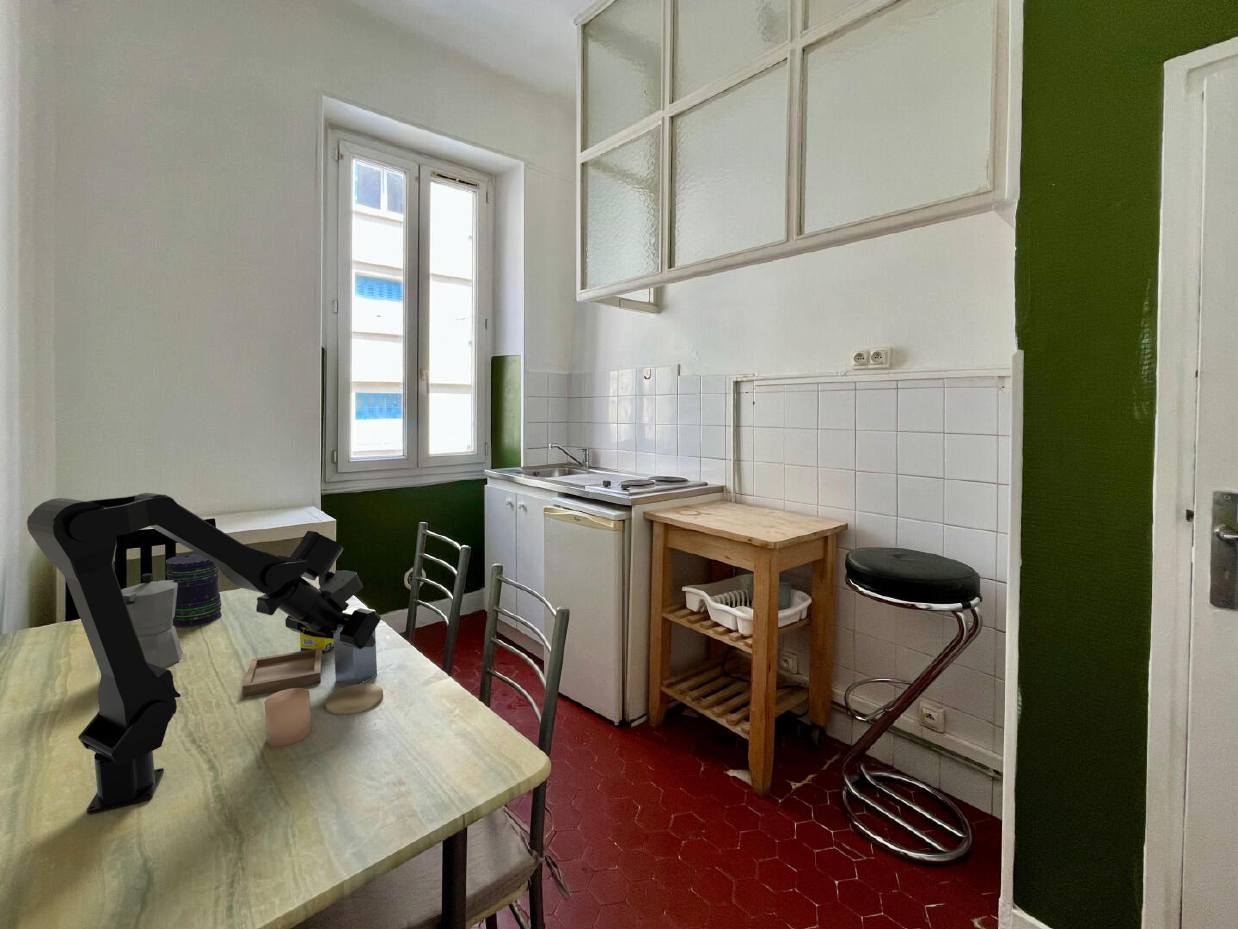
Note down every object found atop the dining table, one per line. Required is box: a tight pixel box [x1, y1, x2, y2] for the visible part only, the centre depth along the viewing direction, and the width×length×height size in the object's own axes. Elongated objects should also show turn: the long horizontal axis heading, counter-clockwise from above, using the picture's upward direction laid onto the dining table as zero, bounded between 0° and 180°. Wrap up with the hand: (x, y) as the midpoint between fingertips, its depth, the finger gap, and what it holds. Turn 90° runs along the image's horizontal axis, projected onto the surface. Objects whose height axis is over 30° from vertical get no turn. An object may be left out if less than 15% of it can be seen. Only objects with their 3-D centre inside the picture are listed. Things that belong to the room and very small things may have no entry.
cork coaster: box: [325, 683, 384, 716], centre depth 99 cm, size 9×9×1 cm
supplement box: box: [299, 628, 334, 655], centre depth 120 cm, size 6×6×11 cm
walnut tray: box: [242, 648, 323, 697], centre depth 108 cm, size 12×12×2 cm
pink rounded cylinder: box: [263, 687, 312, 747], centre depth 89 cm, size 6×6×6 cm
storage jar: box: [165, 552, 223, 628], centre depth 135 cm, size 10×10×15 cm
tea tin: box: [333, 605, 378, 686], centre depth 107 cm, size 5×5×13 cm
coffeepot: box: [121, 572, 184, 669], centre depth 111 cm, size 15×9×18 cm, turn 6°
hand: (361, 641), depth 108 cm, fingers open, 6 cm apart
